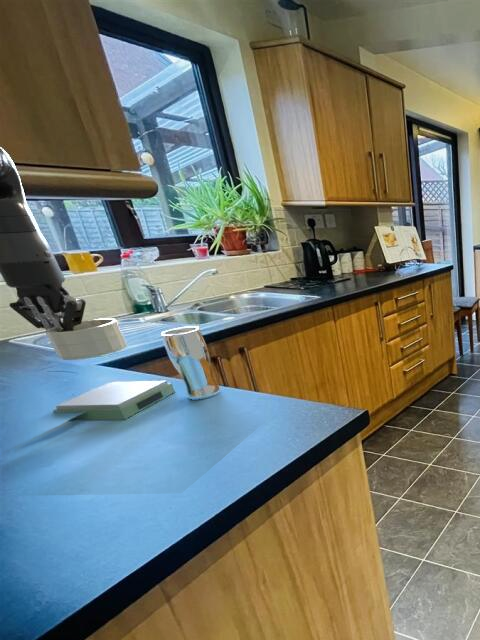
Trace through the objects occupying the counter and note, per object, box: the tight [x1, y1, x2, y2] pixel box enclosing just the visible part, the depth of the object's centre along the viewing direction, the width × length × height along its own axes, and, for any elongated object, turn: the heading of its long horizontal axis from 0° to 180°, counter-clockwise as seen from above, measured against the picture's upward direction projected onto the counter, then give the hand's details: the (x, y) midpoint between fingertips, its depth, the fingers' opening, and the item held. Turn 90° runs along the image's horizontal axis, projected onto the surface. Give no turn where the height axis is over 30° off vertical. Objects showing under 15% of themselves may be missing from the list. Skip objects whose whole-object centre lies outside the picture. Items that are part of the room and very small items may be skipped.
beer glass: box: [160, 326, 221, 401], centre depth 88 cm, size 7×7×15 cm
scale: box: [52, 380, 176, 422], centre depth 86 cm, size 14×13×3 cm
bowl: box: [44, 318, 128, 361], centre depth 80 cm, size 10×10×6 cm
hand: (70, 347), depth 81 cm, fingers closed on bowl, 1 cm apart
